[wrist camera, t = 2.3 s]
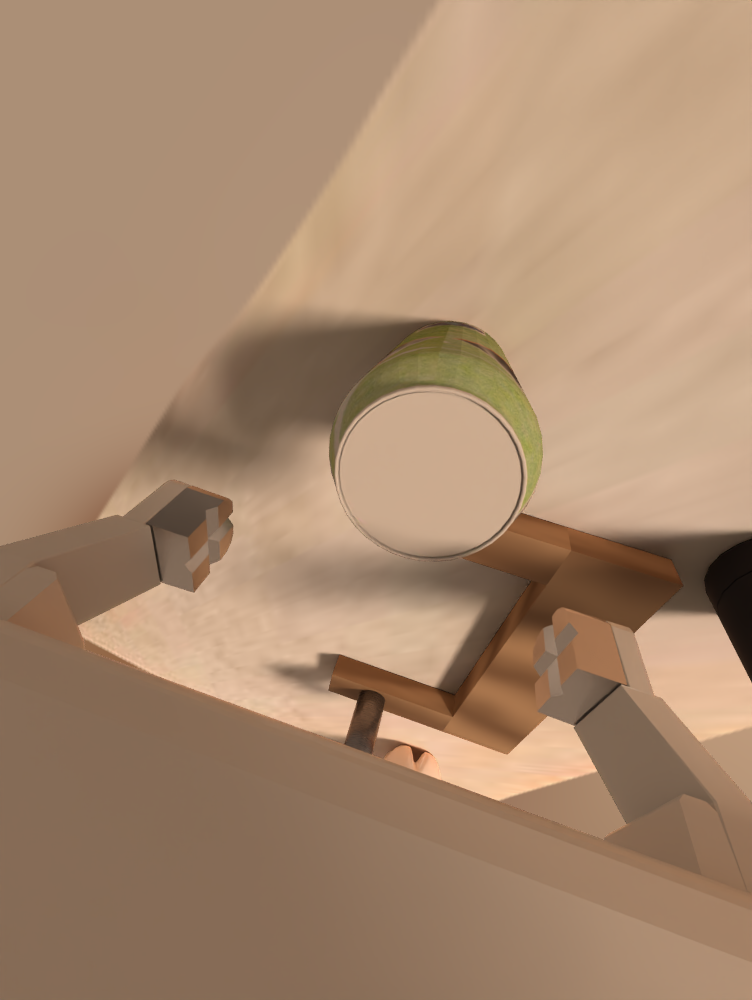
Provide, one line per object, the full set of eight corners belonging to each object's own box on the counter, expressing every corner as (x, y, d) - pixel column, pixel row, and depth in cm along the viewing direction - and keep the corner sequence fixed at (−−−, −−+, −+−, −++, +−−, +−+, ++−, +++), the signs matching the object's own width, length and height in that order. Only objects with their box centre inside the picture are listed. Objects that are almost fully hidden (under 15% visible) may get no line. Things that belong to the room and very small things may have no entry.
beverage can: (380, 418, 23) (292, 574, 13) (408, 270, 18) (305, 348, 9) (491, 448, 22) (481, 634, 13) (550, 303, 18) (599, 425, 8)
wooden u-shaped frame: (386, 471, 25) (378, 489, 23) (671, 559, 23) (683, 585, 22) (335, 670, 40) (328, 690, 38) (507, 731, 38) (507, 754, 37)
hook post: (367, 666, 38) (317, 835, 28) (445, 693, 37) (422, 876, 27) (363, 679, 39) (314, 843, 29) (437, 705, 39) (413, 882, 29)
